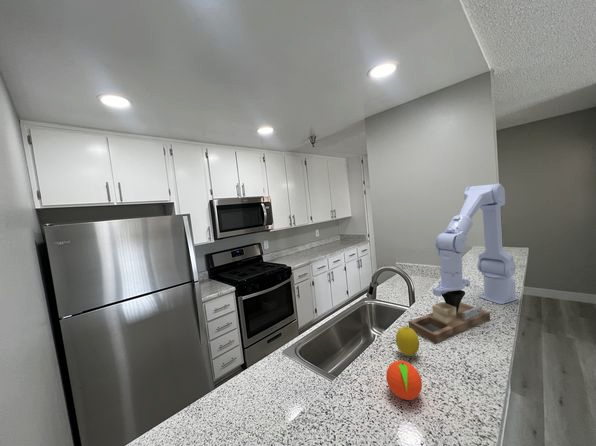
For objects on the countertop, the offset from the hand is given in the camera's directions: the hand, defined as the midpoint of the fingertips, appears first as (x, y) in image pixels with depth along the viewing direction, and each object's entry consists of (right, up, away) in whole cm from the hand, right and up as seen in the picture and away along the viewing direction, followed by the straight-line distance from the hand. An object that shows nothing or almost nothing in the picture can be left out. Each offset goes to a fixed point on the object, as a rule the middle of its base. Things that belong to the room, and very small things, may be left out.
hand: (452, 312), depth 75 cm
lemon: (-20, -7, -13) cm, 25 cm away
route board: (-1, -4, 0) cm, 4 cm away
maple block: (-3, -1, -1) cm, 4 cm away
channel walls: (+3, -1, +1) cm, 3 cm away
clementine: (-27, -8, -25) cm, 38 cm away
